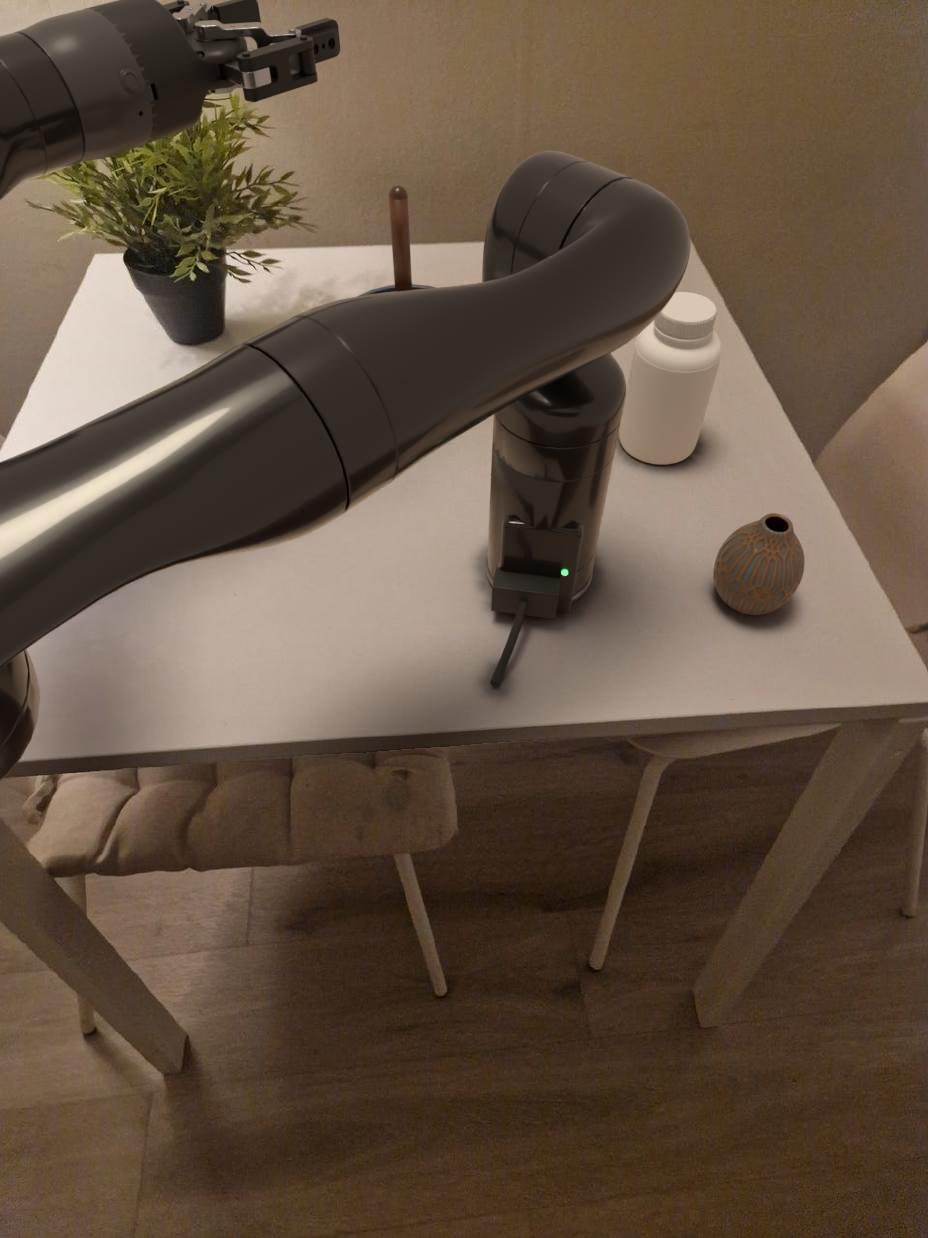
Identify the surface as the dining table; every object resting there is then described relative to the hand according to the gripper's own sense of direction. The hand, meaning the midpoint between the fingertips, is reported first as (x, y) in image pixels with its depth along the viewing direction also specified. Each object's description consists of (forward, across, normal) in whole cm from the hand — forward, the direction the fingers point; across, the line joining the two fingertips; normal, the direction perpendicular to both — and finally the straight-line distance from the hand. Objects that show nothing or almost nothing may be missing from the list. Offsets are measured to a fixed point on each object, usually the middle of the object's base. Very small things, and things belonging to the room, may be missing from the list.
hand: (295, 24), depth 59 cm
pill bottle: (+16, +29, -34) cm, 48 cm away
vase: (+3, +46, -34) cm, 57 cm away
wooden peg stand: (+10, 0, -34) cm, 35 cm away
